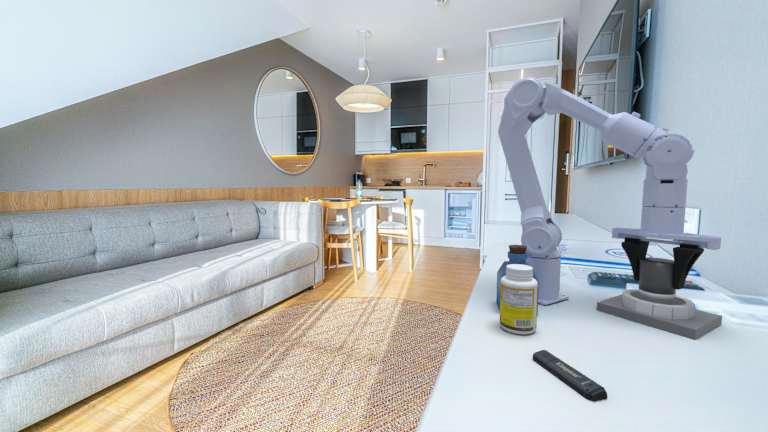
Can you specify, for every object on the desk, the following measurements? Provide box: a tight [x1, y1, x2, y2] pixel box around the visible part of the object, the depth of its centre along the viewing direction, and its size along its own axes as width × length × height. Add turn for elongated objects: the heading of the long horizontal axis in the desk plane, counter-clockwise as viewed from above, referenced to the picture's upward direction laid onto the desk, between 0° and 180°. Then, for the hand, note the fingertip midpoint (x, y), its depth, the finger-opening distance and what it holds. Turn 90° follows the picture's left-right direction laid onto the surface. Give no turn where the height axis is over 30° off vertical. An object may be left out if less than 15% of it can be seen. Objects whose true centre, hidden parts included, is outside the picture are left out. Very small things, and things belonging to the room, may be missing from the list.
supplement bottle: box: [499, 264, 538, 336], centre depth 53 cm, size 6×6×10 cm
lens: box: [637, 256, 677, 299], centre depth 57 cm, size 5×5×6 cm
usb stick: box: [532, 349, 608, 402], centre depth 40 cm, size 10×3×2 cm, turn 15°
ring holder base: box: [596, 288, 723, 341], centre depth 58 cm, size 14×11×4 cm
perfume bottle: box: [495, 244, 539, 318], centre depth 62 cm, size 6×6×12 cm
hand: (657, 284), depth 58 cm, fingers closed on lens, 5 cm apart
